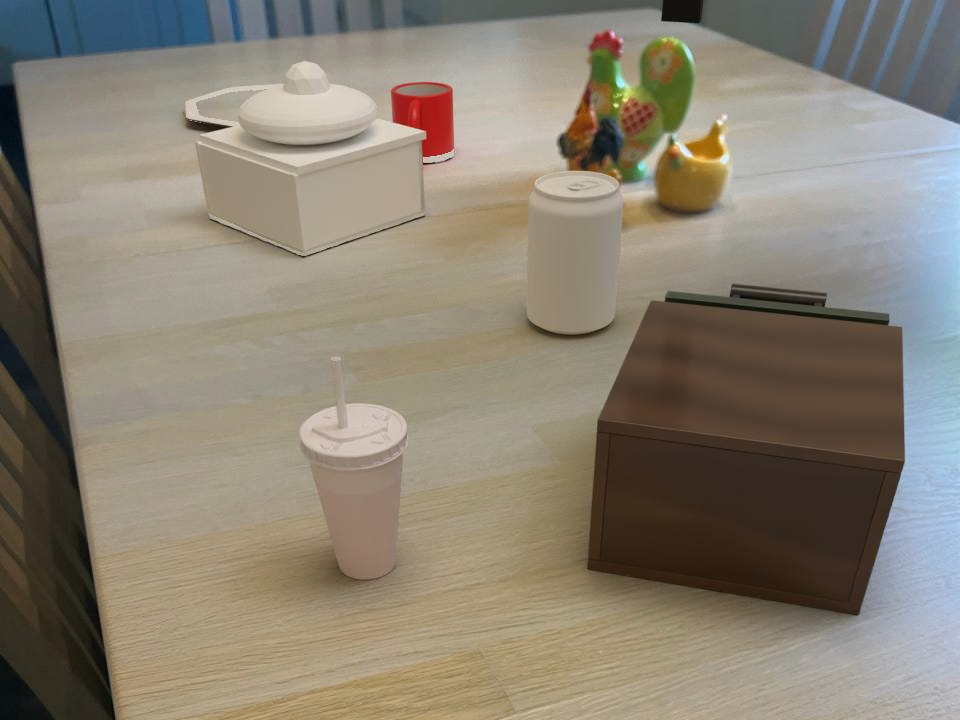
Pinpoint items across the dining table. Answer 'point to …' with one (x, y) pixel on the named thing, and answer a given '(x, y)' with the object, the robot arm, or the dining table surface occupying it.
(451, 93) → the mug
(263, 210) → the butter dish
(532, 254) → the beverage can
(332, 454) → the smoothie
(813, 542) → the cabinet
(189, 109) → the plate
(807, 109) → the dining table surface
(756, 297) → the drawer
